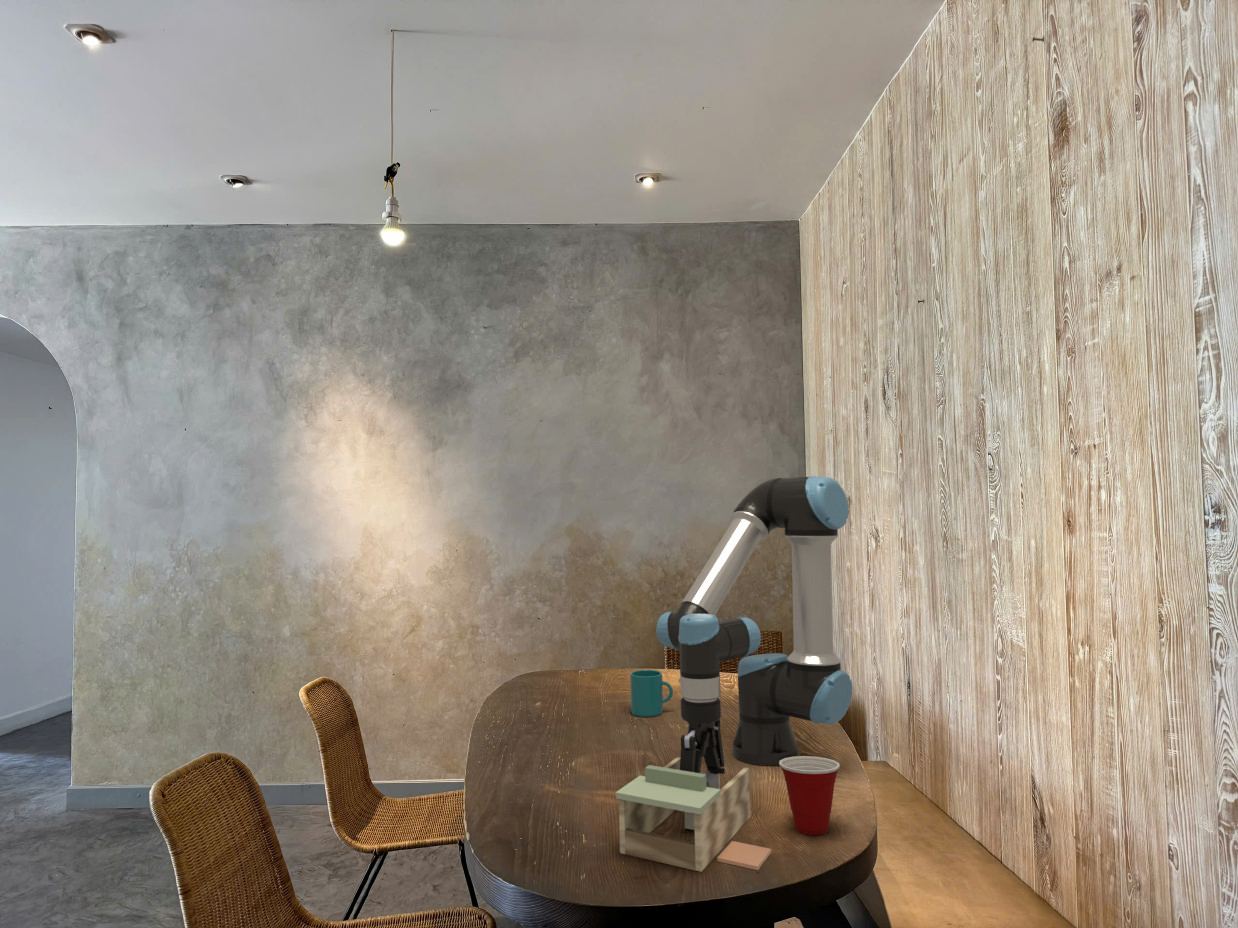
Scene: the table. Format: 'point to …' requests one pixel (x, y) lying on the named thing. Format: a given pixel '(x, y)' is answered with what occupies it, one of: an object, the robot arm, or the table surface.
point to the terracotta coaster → (744, 855)
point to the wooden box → (709, 826)
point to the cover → (670, 790)
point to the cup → (647, 693)
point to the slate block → (711, 780)
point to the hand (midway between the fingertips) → (703, 818)
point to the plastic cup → (810, 791)
